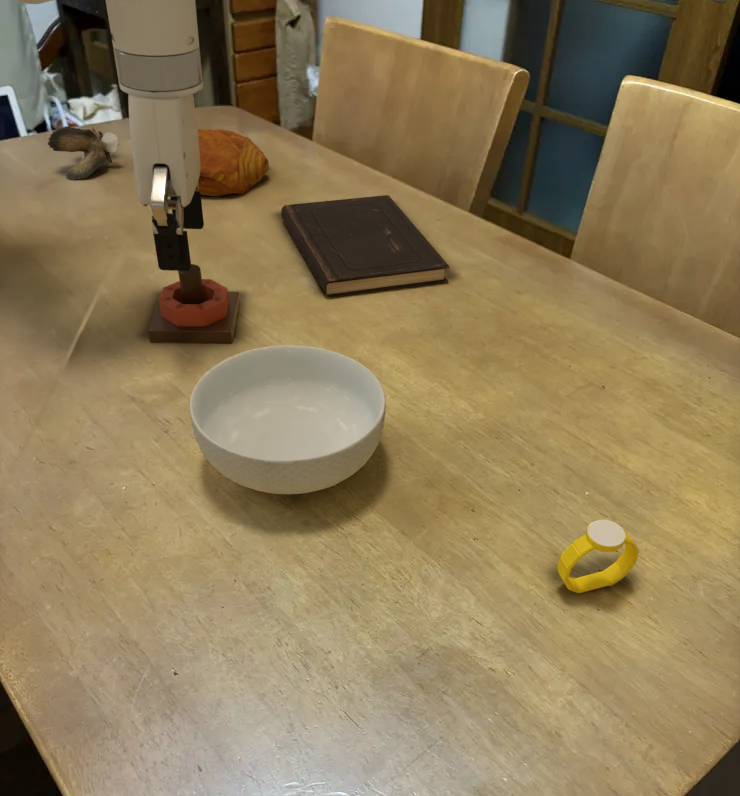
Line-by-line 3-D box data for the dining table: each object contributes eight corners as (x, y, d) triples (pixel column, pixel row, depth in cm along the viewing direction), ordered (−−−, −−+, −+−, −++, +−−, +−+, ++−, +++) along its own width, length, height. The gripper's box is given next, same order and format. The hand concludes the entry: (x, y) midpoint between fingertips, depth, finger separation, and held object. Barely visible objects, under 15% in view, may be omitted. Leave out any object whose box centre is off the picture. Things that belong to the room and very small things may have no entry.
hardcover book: (387, 210, 110) (388, 194, 109) (447, 282, 95) (449, 265, 93) (281, 221, 106) (280, 205, 105) (325, 298, 91) (324, 281, 89)
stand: (149, 342, 82) (139, 288, 78) (163, 301, 89) (154, 249, 85) (232, 343, 83) (226, 289, 78) (240, 302, 89) (235, 250, 85)
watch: (615, 564, 61) (635, 512, 56) (632, 590, 59) (654, 538, 55) (547, 578, 59) (562, 525, 55) (562, 605, 57) (580, 552, 53)
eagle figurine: (84, 147, 122) (40, 153, 115) (99, 111, 117) (54, 114, 111) (116, 182, 122) (74, 190, 115) (132, 148, 118) (89, 153, 111)
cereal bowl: (319, 552, 61) (318, 487, 56) (159, 480, 66) (145, 416, 61) (414, 438, 72) (420, 376, 67) (270, 385, 77) (265, 324, 72)
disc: (158, 326, 82) (155, 310, 81) (168, 294, 87) (166, 278, 86) (224, 327, 82) (222, 310, 81) (231, 295, 88) (229, 279, 86)
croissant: (189, 174, 124) (176, 121, 119) (279, 170, 120) (269, 116, 115) (153, 205, 113) (137, 149, 108) (250, 202, 110) (238, 144, 105)
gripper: (136, 42, 74) (161, 212, 86) (94, 95, 62) (130, 286, 73) (212, 46, 75) (227, 214, 86) (187, 99, 62) (207, 288, 74)
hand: (182, 247), depth 80 cm, fingers open, 9 cm apart
